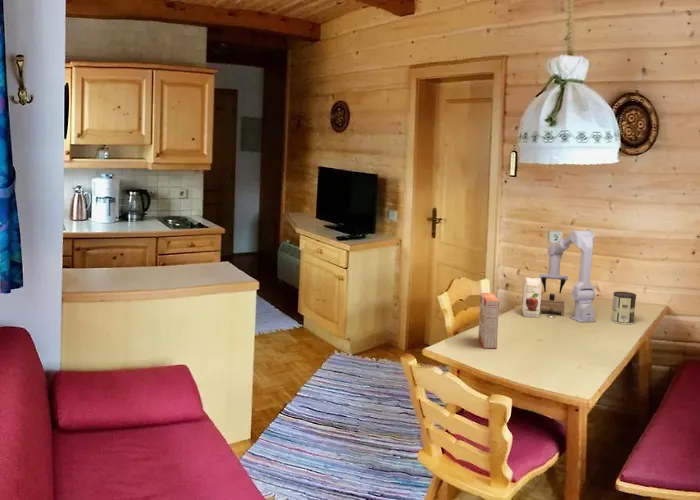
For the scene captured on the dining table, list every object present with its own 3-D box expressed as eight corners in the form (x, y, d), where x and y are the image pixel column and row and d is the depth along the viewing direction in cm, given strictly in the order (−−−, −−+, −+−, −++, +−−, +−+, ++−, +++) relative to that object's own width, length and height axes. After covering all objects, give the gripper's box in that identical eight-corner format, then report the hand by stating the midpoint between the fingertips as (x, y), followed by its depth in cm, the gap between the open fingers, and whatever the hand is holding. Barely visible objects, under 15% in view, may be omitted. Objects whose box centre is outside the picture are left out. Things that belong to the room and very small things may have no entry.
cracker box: (477, 338, 290) (479, 292, 286) (491, 339, 290) (493, 292, 286) (482, 348, 276) (485, 299, 273) (497, 349, 276) (500, 300, 272)
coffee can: (625, 318, 331) (628, 291, 328) (638, 324, 321) (640, 295, 318) (606, 319, 329) (609, 291, 327) (618, 324, 319) (621, 296, 317)
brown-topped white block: (548, 305, 355) (549, 293, 353) (554, 306, 354) (555, 293, 353) (548, 312, 340) (549, 299, 339) (554, 312, 340) (555, 299, 338)
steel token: (556, 318, 329) (556, 316, 329) (549, 318, 328) (549, 316, 328) (552, 316, 333) (552, 314, 333) (545, 316, 332) (545, 314, 332)
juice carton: (521, 313, 336) (523, 276, 333) (538, 314, 335) (541, 277, 332) (521, 316, 329) (524, 279, 326) (539, 318, 327) (542, 280, 324)
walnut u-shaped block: (539, 310, 342) (539, 299, 341) (563, 312, 339) (564, 301, 338) (538, 314, 335) (539, 302, 334) (563, 316, 331) (564, 305, 330)
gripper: (568, 267, 352) (566, 292, 354) (540, 265, 356) (538, 289, 359) (568, 269, 346) (566, 294, 348) (539, 267, 350) (538, 292, 352)
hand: (552, 292), depth 353 cm, fingers open, 7 cm apart
